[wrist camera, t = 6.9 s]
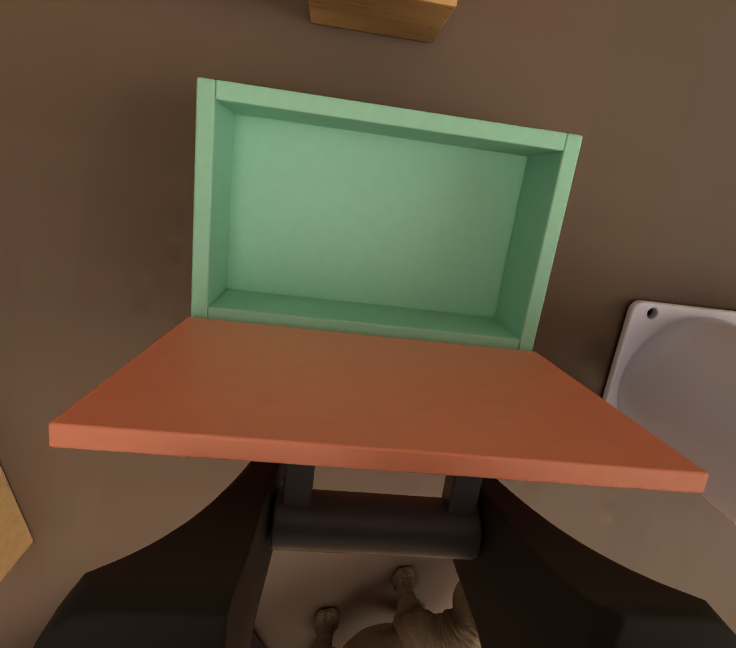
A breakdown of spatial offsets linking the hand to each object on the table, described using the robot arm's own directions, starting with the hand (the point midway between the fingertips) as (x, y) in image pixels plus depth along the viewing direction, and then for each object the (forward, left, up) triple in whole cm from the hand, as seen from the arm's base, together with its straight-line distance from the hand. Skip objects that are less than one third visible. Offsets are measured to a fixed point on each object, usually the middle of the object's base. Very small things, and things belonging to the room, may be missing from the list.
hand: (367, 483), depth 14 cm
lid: (0, -3, -1) cm, 3 cm away
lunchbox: (0, -7, -9) cm, 11 cm away
